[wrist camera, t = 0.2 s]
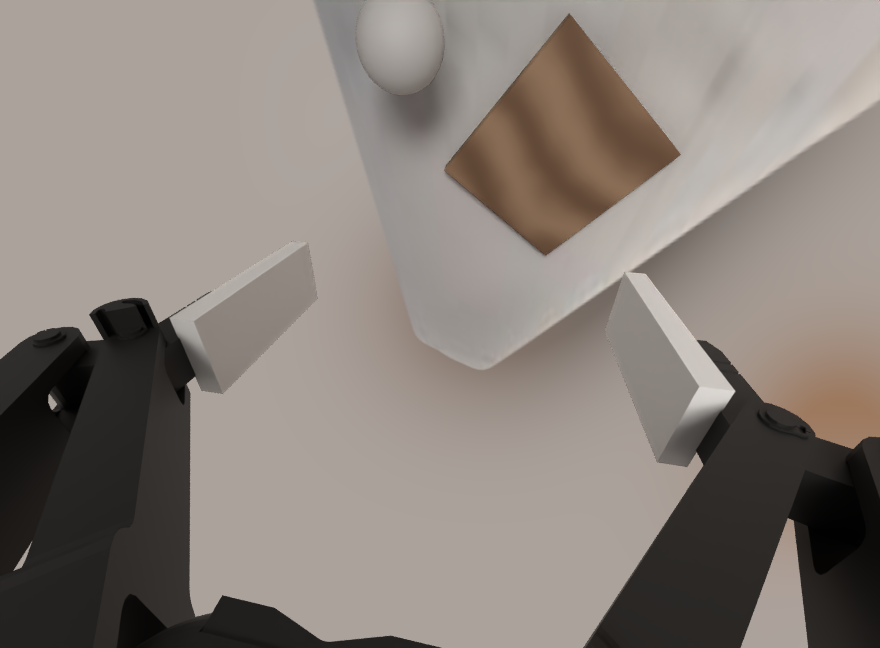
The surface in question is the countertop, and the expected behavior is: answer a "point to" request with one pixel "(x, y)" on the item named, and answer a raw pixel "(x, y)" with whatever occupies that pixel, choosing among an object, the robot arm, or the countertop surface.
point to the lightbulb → (400, 43)
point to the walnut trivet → (561, 143)
